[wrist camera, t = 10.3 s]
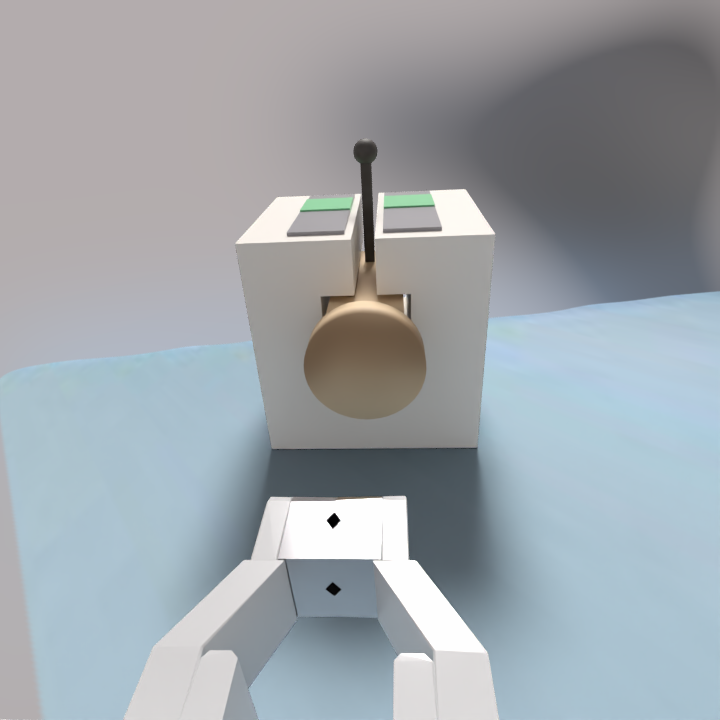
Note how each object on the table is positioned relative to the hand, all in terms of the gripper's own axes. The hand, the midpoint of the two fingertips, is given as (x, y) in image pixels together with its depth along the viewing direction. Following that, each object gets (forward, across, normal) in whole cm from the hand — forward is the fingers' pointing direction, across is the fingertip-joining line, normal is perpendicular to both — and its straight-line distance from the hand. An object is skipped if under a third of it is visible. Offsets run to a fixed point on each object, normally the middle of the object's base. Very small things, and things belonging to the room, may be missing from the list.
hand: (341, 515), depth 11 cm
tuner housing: (+22, 0, +12) cm, 25 cm away
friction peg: (+19, 0, +7) cm, 21 cm away
